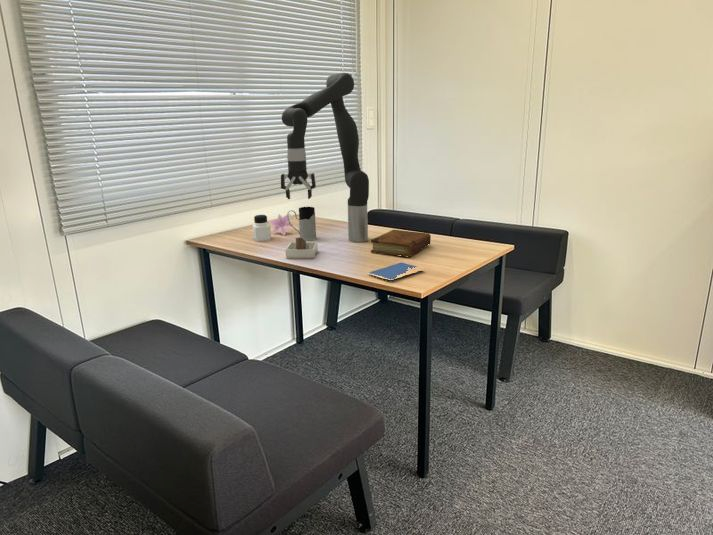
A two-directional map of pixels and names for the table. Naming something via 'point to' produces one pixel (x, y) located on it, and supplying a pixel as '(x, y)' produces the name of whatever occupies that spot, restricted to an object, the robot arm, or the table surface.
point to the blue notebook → (392, 270)
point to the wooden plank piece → (300, 243)
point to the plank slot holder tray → (302, 251)
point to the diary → (400, 242)
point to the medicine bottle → (261, 228)
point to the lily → (281, 224)
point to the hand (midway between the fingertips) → (299, 198)
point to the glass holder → (306, 223)
